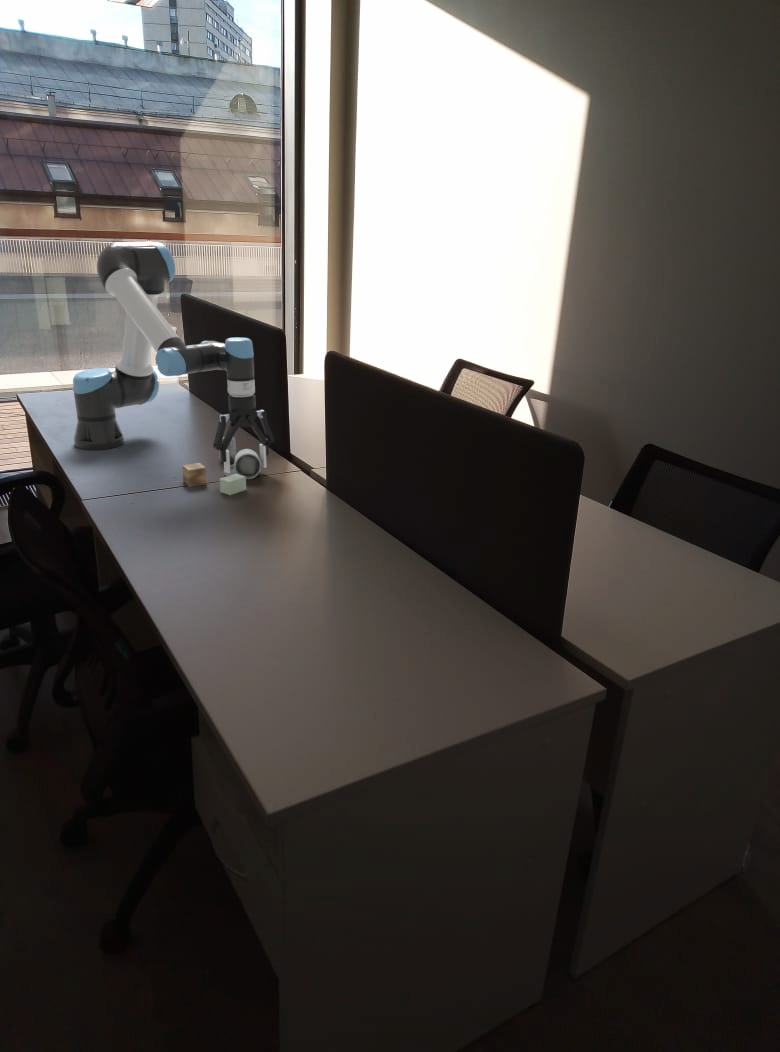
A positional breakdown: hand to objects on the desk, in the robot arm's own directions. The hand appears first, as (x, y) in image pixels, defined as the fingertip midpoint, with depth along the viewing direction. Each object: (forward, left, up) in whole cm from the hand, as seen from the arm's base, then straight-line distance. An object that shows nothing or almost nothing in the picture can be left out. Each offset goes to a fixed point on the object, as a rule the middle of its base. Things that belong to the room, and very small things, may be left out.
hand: (245, 469), depth 224 cm
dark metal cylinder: (+1, +16, -2) cm, 16 cm away
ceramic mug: (-1, +1, -2) cm, 3 cm away
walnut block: (-15, +1, -2) cm, 15 cm away
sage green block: (-8, -10, -2) cm, 13 cm away
